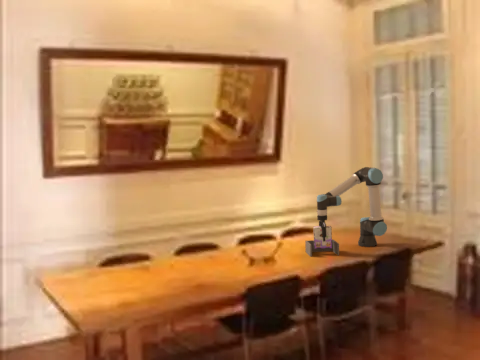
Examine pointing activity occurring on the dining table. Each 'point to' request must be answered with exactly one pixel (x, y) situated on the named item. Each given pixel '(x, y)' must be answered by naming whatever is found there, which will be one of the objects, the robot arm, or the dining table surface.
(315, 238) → the candy box
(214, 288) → the dining table surface
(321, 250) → the open box
